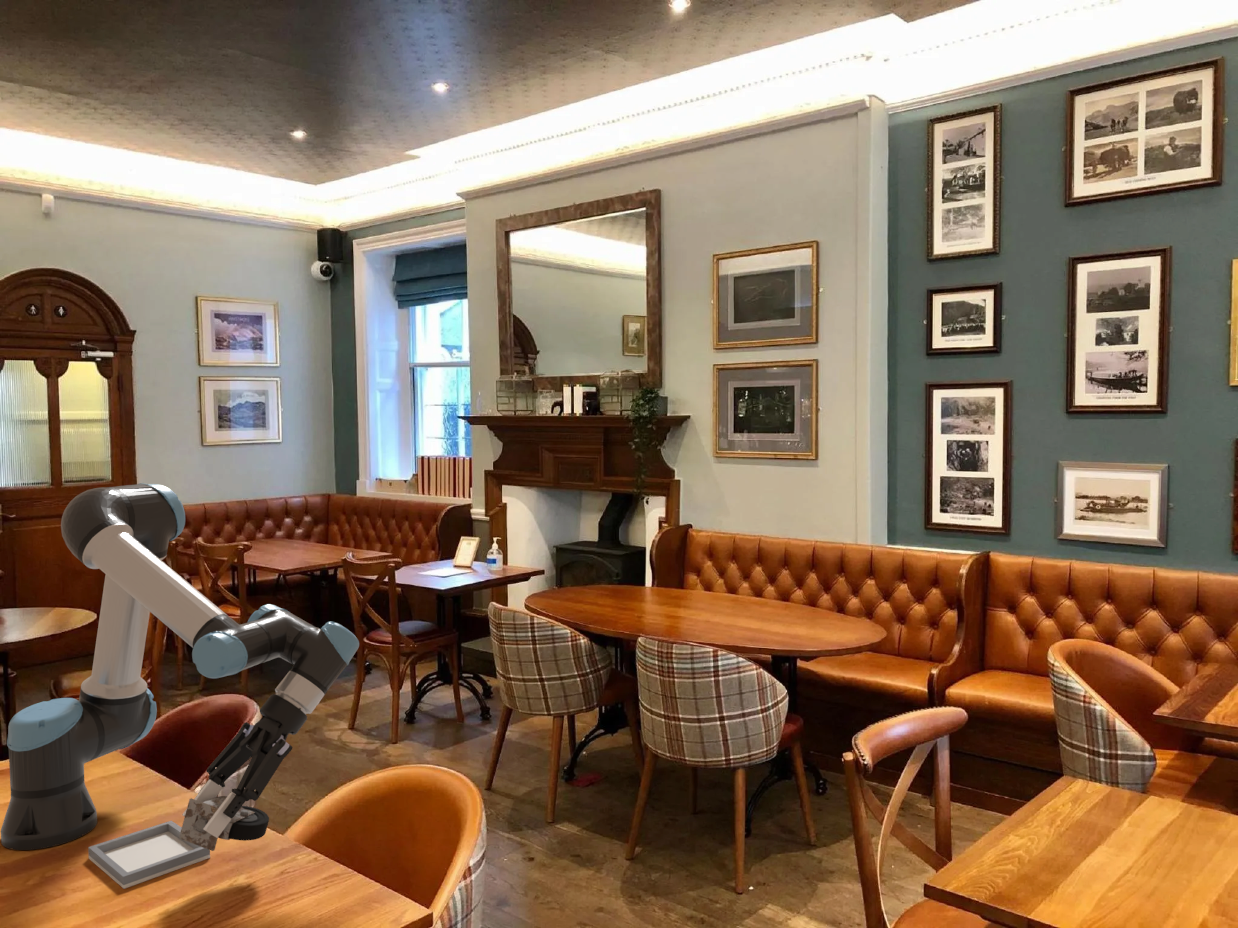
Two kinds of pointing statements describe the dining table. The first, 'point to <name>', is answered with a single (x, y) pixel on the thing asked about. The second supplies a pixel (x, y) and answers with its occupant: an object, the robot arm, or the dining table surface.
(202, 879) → the dining table surface
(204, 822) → the caster wheel
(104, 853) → the shallow rectangular tray
